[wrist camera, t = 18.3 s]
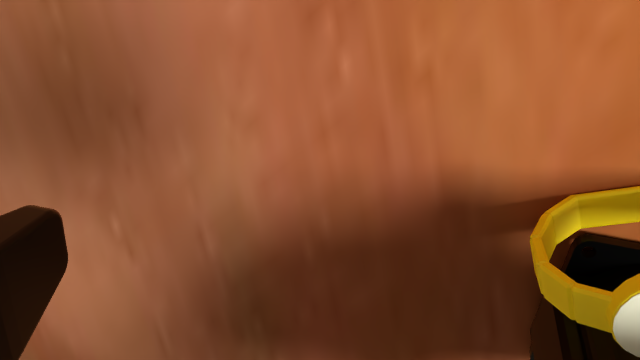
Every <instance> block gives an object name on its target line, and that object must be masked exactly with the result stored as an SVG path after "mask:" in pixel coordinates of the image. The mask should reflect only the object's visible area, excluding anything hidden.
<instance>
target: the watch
mask: <svg viewBox="0 0 640 360" xmlns="http://www.w3.org/2000/svg"><path fill="white" fill-rule="evenodd" d="M633 222H640V186H636V187H629V188H621V189H614V190H607V191H599V192H592V193H584V194H577V195H570V196H569V197H567V198H566V199H564V200H562V201H561V202H559V203H558V204H556V205H555V206H553V207H552V208H550V209H549V210H547V211H546V212H544V214H543V215H541V217H540V219H539V221H538V223H537V225H536V226H535V228H534V230H533V232H532V234H531V236H530V246H531V252H532V258H533V264H534V270H535V273H536V277H537V280H538V284H539V287H540V291H541V294H543V295H544V298H545V299H546V300H548V301H549V302H550V303H551V304H552V305H554V306H555V307H556V308H557V309H559V310H560V311H561V312H562V313H563V314H565V315H566V316H567V317H568V318H570V319H571V320H576V322H577V323H580V324H583V325H587V326H590V327H593V328H596V329H600V330H603V331H606V332H610V333H612V335H613V338H614V340H615V341H616V342H617V343H618V344H619V345H620V346H621V347H622V348H623V349H624V350H626V351H628V352H629V353H631V354H633V355H635V356H637V357H640V274H638V275H636V276H634V277H631V278H629V279H627V280H626V281H624V282H623V283H622V284H621V285H620V286H619V287H617V288H616V289H615V290H614V291H613V292H610V291H606V290H602V289H598V288H595V287H591V286H587V285H583V284H579V283H577V282H575V281H574V280H572V279H571V278H570V277H568V276H567V275H566V274H564V273H563V272H562V271H560V270H559V269H557V268H556V267H555V266H553V265H552V264H551V263H549V260H550V258H551V256H552V253H553V251H554V249H555V247H556V245H557V244H558V243H560V242H561V241H563V240H564V239H566V238H567V237H569V236H570V235H572V234H573V233H575V232H576V231H578V230H579V229H582V228H590V227H599V226H607V225H616V224H624V223H633Z"/></svg>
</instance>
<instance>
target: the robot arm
mask: <svg viewBox="0 0 640 360" xmlns="http://www.w3.org/2000/svg"><path fill="white" fill-rule="evenodd" d="M585 247H593V249H592V250H590V251H583V250H582V249H583V248H585ZM67 263H68V252H67V246H66V240H65V234H64V228H63V222H62V218H61V215H60V214H59V212H57V211H56V210H54V209H49V208H44V207H39V206H34V205H28V206H24V207H22V208H19V209H17V210H14V211H11V212H9V213H6V214H4V215H1V216H0V360H19V358H20V356H21V354H22V353H23V351H24V349H25V347H26V345H27V343H28V341H29V340H30V338H31V336H32V334H33V332H34V330H35V328H36V326H37V324H38V322H39V321H40V319H41V317H42V315H43V313H44V311H45V309H46V307H47V305H48V304H49V302H50V300H51V298H52V296H53V294H54V292H55V290H56V288H57V287H58V285H59V283H60V281H61V279H62V277H63V275H64V273H65V271H66V268H67ZM561 271H562V272H563V273H564V274H566V275H567V276H568V277H570V278H571V279H572V280H574V281H575V282H577V283H579V284H583V285H587V286H591V287H595V288H598V289H602V290H606V291H610V292H613V291H614V290H615V289H616V288H617V287H619V286H620V285H621V284H622V283H623V282H624V281H626V280H627V279H629V278H631V277H634V276H636V275H638V274H640V243H635V242H630V241H624V240H619V239H614V238H608V237H603V236H597V235H592V234H585V235H581V236H579V237H577V238H576V239H575V240H574V241H573V243H572V245H571V248H570V250H569V252H568V255H567V257H566V260H565V262H564V265H563V267H562V270H561ZM530 333H531V340H532V344H531V347H530V351H529V353H530V360H640V357H637V356H635V355H633V354H631V353H629V352H628V351H626V350H624V349H623V348H622V347H621V346H620V345H619V344H618V343H617V342H616V341H615V340H614V338H613V335H612V333H610V332H606V331H603V330H600V329H596V328H593V327H590V326H587V325H583V324H580V323H577V322H576V320H571V319H570V318H568V317H567V316H566V315H565V314H563V313H562V312H561V311H560V310H559V309H557V308H556V307H555V306H554V305H552V304H551V303H550V302H549V301H548V300H546V299H545V298H544V296H543V298H542V301H541V303H540V306H539V309H538V311H537V314H536V316H535V319H534V321H533V324H532V326H531V329H530Z"/></svg>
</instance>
